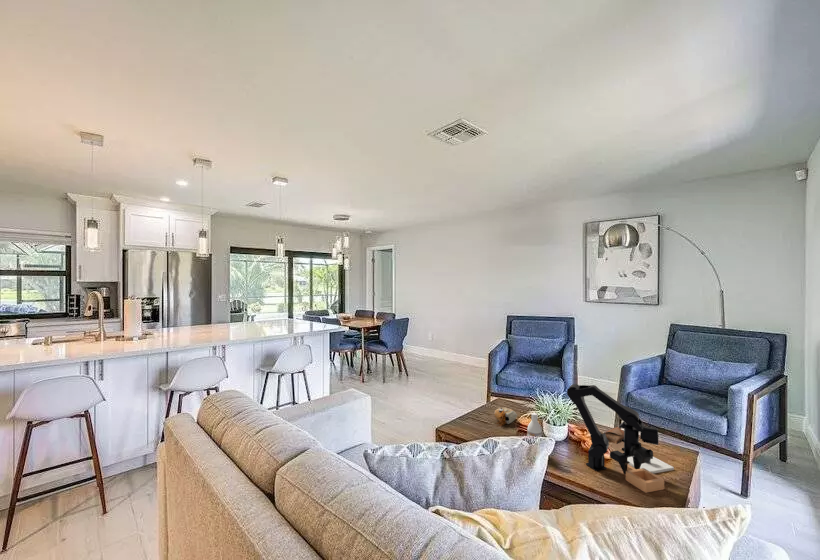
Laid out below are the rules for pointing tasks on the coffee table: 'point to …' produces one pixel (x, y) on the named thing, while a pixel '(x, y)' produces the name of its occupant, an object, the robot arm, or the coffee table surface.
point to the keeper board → (653, 465)
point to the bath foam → (534, 426)
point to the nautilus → (505, 415)
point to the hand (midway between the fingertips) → (630, 473)
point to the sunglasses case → (615, 435)
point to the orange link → (651, 479)
